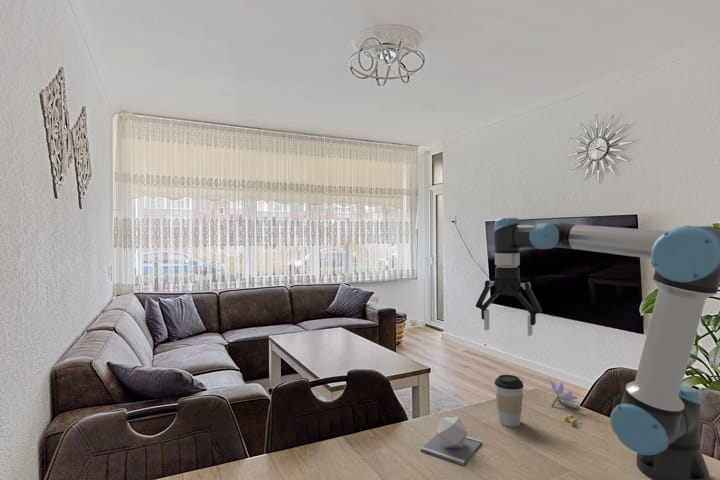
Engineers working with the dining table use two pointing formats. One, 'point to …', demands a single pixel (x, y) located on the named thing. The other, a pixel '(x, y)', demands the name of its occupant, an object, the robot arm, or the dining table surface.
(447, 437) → the die
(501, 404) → the coffee cup
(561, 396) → the water lily
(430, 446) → the coaster
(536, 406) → the dining table surface
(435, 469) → the dining table surface
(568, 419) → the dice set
